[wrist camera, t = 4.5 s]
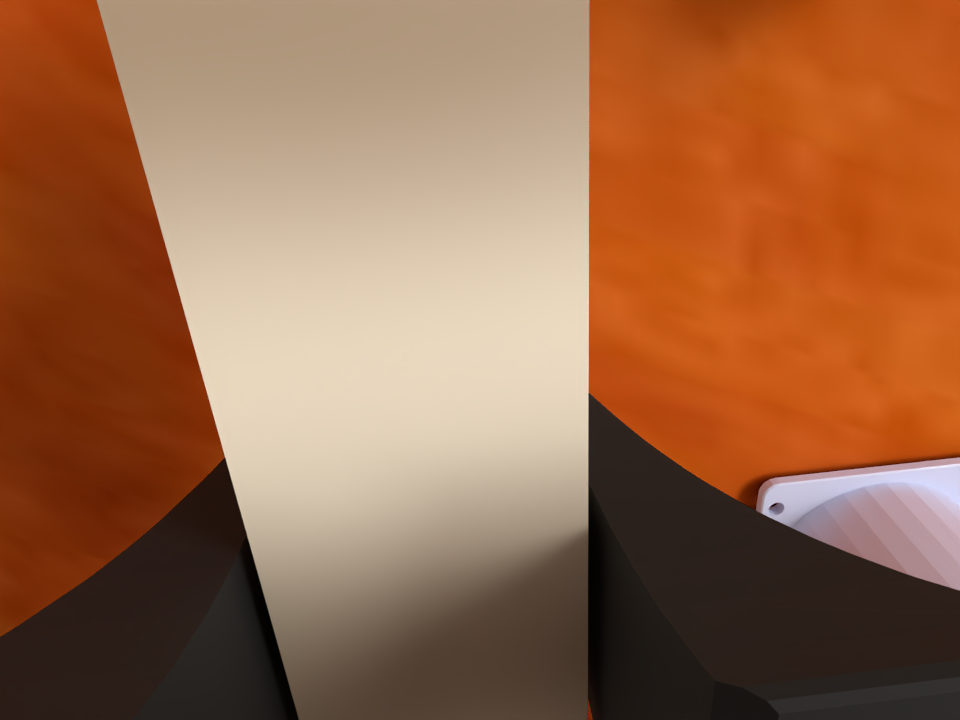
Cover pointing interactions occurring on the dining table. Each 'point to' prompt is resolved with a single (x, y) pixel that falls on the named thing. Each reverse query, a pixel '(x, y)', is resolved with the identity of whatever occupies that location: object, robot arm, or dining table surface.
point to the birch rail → (388, 328)
